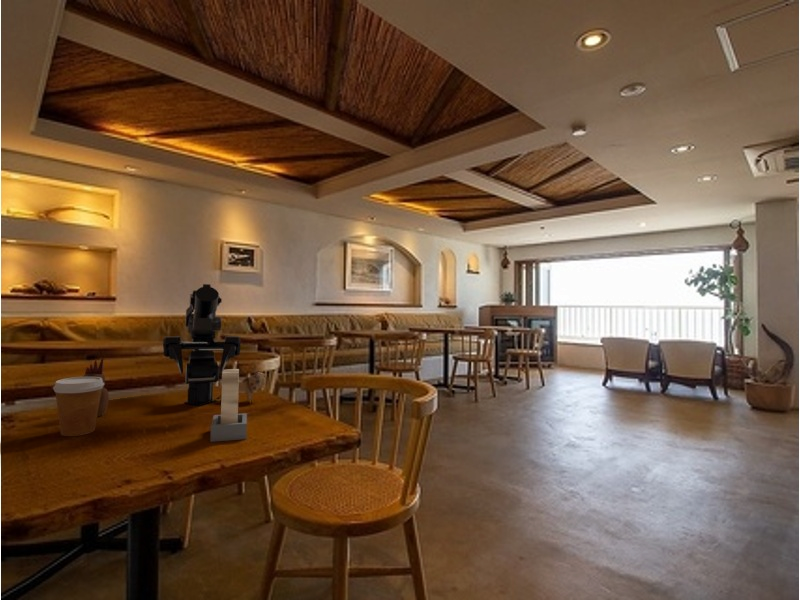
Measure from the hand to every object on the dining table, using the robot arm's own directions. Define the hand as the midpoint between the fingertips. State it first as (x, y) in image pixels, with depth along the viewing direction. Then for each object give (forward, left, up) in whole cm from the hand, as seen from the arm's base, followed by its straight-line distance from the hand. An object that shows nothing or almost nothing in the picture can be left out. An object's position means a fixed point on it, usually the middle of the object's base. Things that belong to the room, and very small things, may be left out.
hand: (201, 372), depth 110 cm
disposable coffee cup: (+19, -17, -13) cm, 29 cm away
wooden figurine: (+9, -27, -13) cm, 31 cm away
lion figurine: (-21, -5, -13) cm, 25 cm away
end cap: (+5, +14, -12) cm, 20 cm away
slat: (+5, +14, -12) cm, 19 cm away
